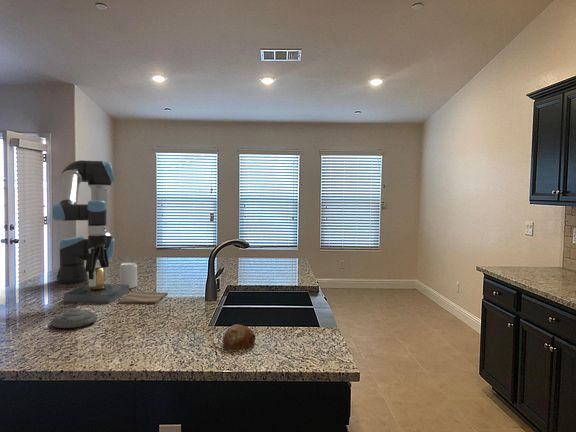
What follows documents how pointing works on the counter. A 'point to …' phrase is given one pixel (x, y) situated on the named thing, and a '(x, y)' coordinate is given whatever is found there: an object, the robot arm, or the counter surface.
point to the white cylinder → (128, 274)
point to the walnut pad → (143, 298)
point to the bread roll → (238, 337)
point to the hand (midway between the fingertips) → (97, 283)
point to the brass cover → (99, 279)
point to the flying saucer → (73, 319)
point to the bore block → (96, 294)
